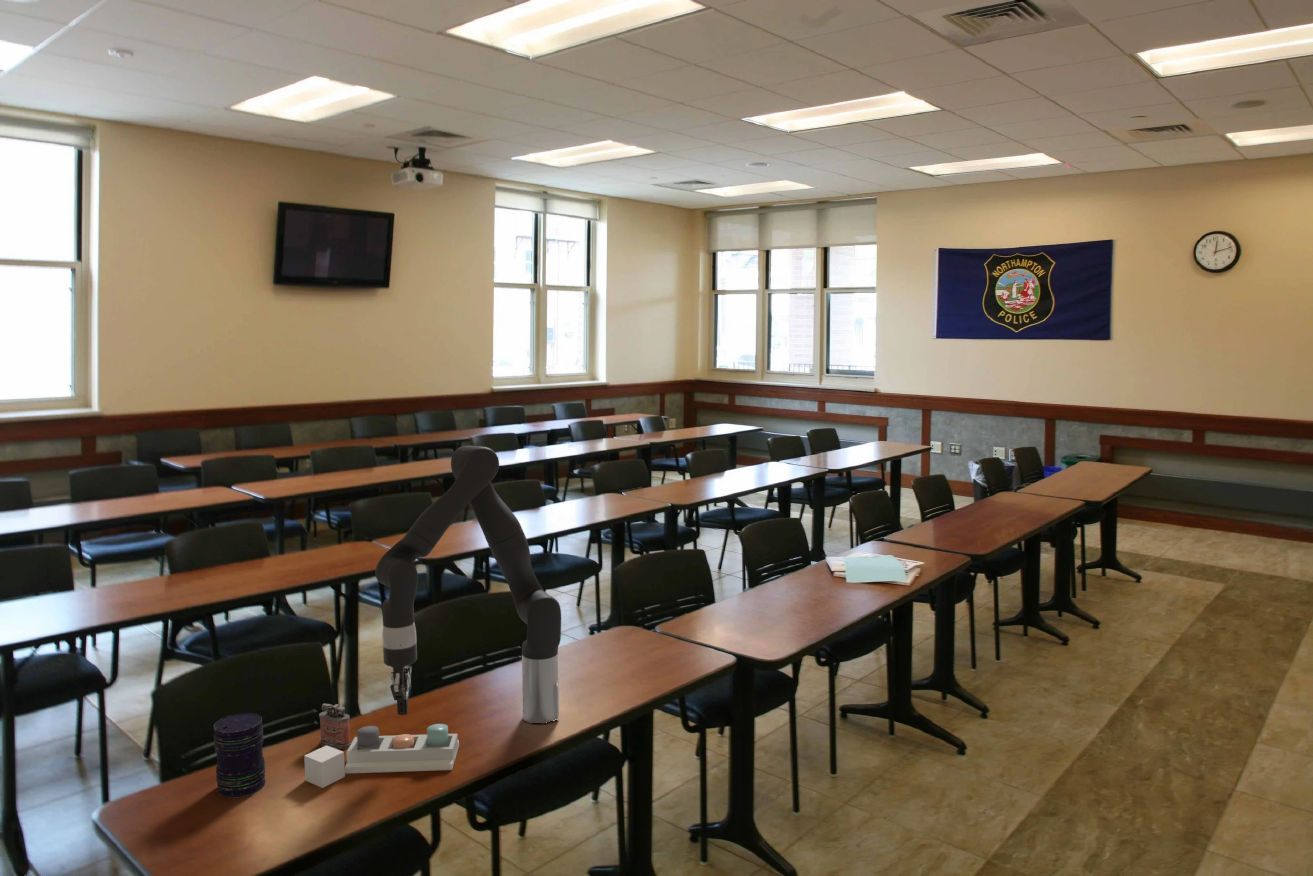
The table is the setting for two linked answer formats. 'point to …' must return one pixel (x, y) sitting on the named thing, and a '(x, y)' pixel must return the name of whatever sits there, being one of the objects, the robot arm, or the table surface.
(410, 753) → the button board
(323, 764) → the white cube
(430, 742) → the teal button
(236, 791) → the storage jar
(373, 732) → the charcoal button
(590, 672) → the table surface
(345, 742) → the lighter
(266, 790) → the table surface
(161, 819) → the table surface
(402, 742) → the terracotta button
